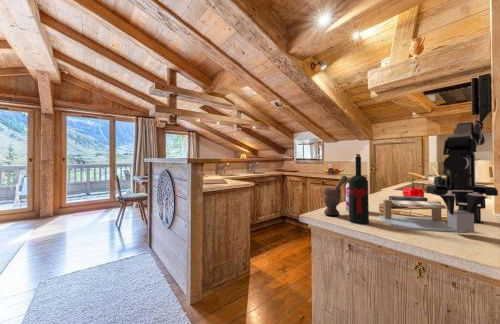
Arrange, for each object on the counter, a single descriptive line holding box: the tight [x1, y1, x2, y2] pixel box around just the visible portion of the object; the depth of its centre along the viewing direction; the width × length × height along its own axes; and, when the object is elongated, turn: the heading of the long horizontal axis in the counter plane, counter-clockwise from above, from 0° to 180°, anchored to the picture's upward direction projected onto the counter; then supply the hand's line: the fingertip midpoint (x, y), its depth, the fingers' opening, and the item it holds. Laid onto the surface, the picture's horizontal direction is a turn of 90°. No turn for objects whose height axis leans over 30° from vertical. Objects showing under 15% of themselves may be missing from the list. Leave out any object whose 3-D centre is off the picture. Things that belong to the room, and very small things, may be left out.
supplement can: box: [345, 182, 349, 213], centre depth 118 cm, size 8×8×15 cm
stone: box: [447, 209, 475, 232], centre depth 79 cm, size 5×5×6 cm
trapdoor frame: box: [378, 199, 466, 233], centre depth 94 cm, size 23×19×9 cm
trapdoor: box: [388, 195, 446, 209], centre depth 96 cm, size 16×14×4 cm
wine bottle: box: [348, 153, 370, 225], centre depth 96 cm, size 8×10×30 cm
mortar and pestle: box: [322, 175, 348, 216], centre depth 112 cm, size 12×9×20 cm
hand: (460, 214), depth 79 cm, fingers closed on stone, 5 cm apart
